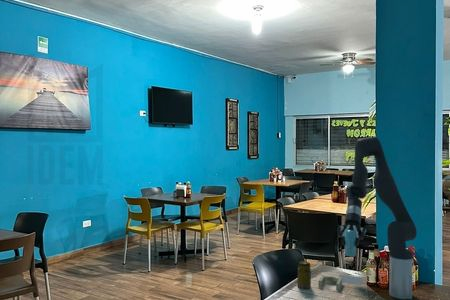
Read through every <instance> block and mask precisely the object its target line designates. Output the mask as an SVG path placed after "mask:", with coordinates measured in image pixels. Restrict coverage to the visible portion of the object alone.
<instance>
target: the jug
mask: <svg viewBox="0 0 450 300" xmlns="http://www.w3.org/2000/svg"><path fill="white" fill-rule="evenodd" d="M344 231H345V245H344V256H345V257H350V258H351V257H353V258H354V257H356V255H357V251H356V250H357V247H355V240H356V231H355V230H345V229H344Z"/></svg>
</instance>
